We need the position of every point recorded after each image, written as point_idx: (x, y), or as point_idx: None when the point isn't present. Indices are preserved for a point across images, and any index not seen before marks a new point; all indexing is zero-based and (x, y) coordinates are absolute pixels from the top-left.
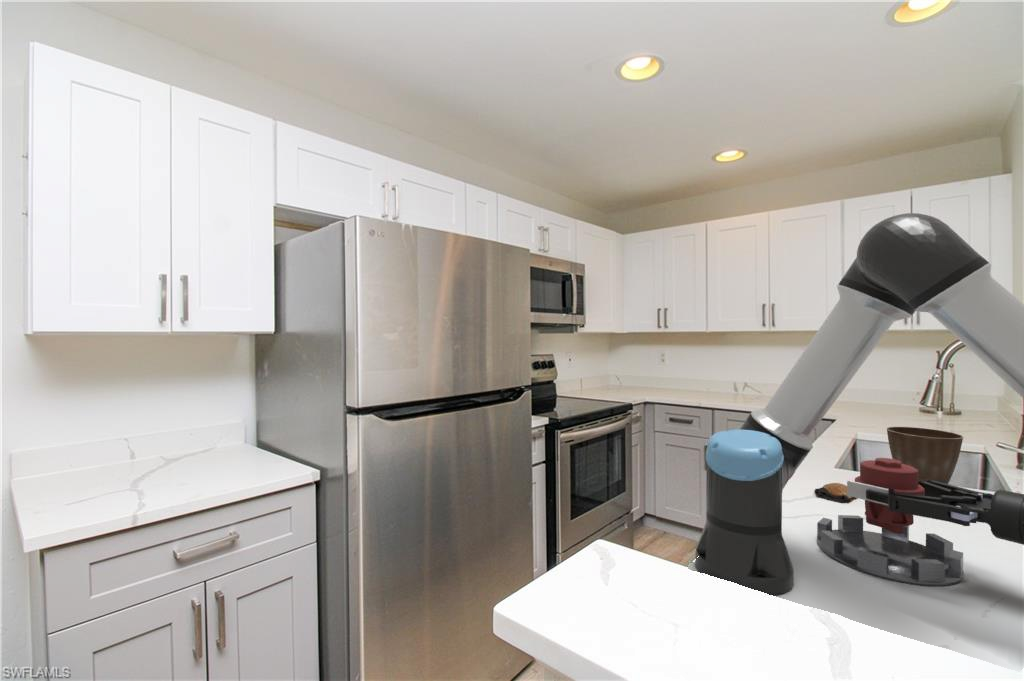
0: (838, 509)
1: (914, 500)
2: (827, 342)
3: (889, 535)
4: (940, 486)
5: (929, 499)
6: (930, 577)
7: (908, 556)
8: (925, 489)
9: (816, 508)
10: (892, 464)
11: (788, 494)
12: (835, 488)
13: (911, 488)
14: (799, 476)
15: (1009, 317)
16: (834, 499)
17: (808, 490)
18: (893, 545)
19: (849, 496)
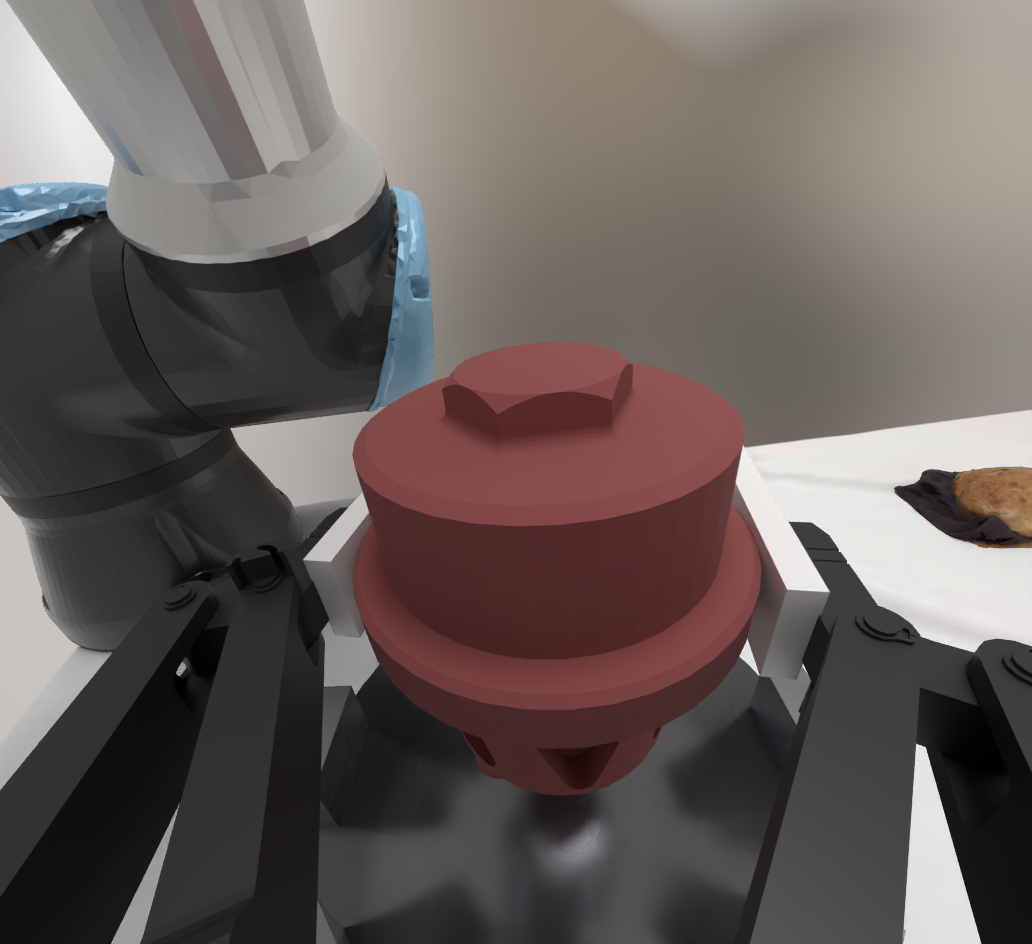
0: (872, 549)
1: (62, 719)
2: None
3: (764, 728)
4: (903, 818)
5: (187, 819)
6: None
7: (604, 857)
8: (806, 708)
9: (792, 519)
10: (460, 398)
11: (811, 460)
12: (990, 486)
13: (449, 629)
14: (1009, 427)
15: None
16: (943, 517)
17: (922, 468)
18: (683, 769)
19: (1028, 528)
